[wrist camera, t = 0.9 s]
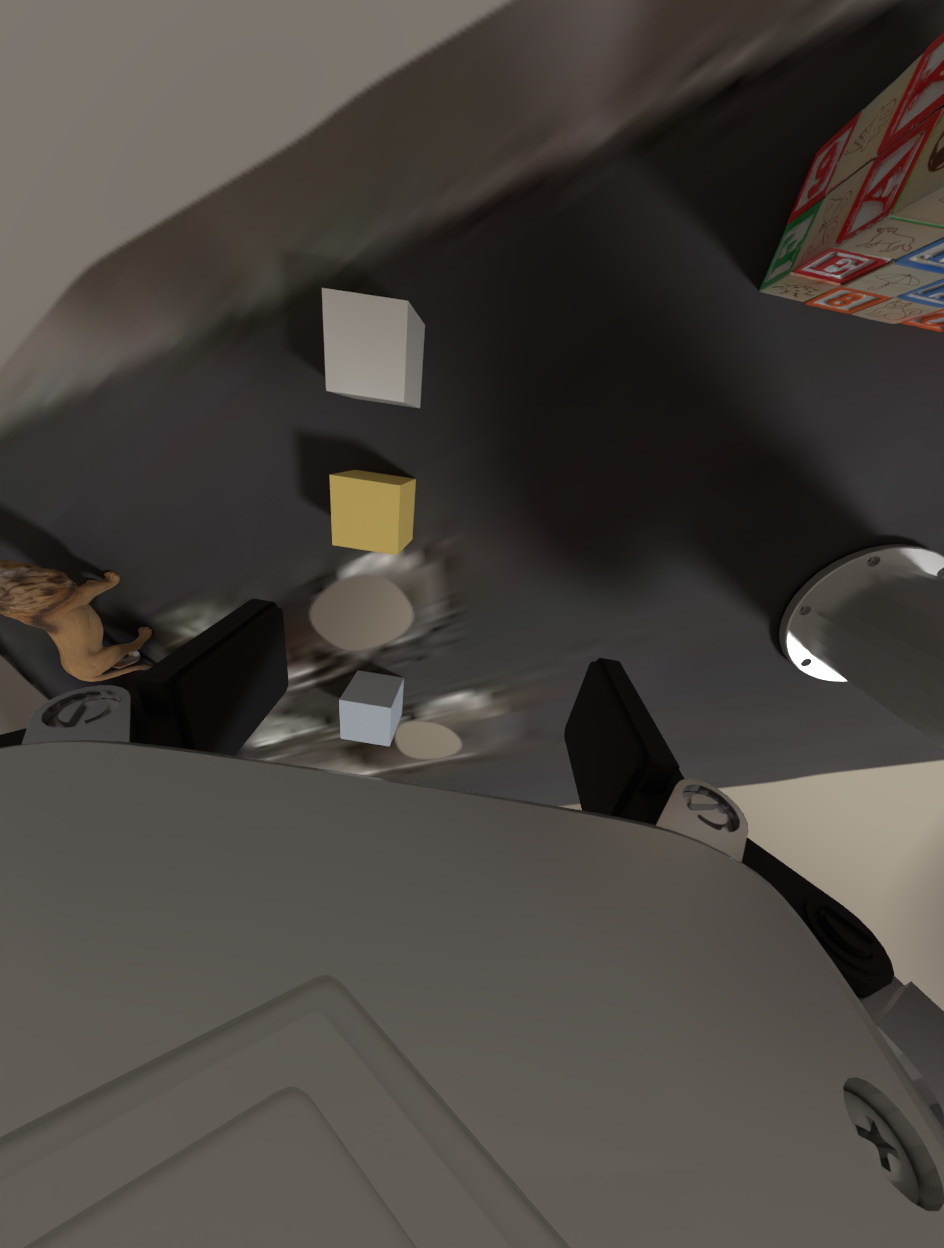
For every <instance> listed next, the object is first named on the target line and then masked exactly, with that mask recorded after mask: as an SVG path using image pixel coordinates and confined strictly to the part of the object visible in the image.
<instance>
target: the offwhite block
mask: <svg viewBox="0 0 944 1248" xmlns="http://www.w3.org/2000/svg"><path fill="white" fill-rule="evenodd" d="M322 306H323V329H324V353H325V377H326V391H329V392H333V393H337V394H340V395H344V396H348V397H351V398H355V399H362V400H368V401H375V402H381V403H388V404H394V405H401V406H407V407H414V408H420V400H421V383H422V367H423V350H424V333H425V324H424V323H423V321H422V320H421V318H420V317H419V316H418V314H417V313H416V311H415V310H414V308H413V307H412V306H411V304H410V303H409V301H406V300H399V299H393V298H386V297H379V296H373V295H366V294H360V293H353V292H346V291H340V290H333V289H326V288H322Z"/></svg>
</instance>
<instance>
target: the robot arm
mask: <svg viewBox="0 0 944 1248" xmlns="http://www.w3.org/2000/svg"><path fill="white" fill-rule="evenodd" d="M779 639H780V645H781V648H782V651H783V653H784V655H785V656H786V658H787V659H788V660H789V661H790V662H791V663H792V664H793V665H794V666H796V667H797V668H798V669H799V670H801V671H802V672H804V673H806V674H807V675H809V676H812V677H815V678H818V679H822V680H828V681H849V682H850V683H851V684H853V685H854V686H856V687H857V688H858V689H860V690H861V691H863V692H864V693H866V694H867V695H868V696H870V697H871V698H873V699H874V700H876V701H877V702H878V703H880V704H881V705H883V706H884V707H886V708H887V709H888V710H890V711H891V712H893V713H894V714H895V715H897V716H898V717H900V718H901V719H903V720H904V721H905V722H907V723H908V724H910V725H911V726H913V727H914V728H915V729H917V730H918V731H920V732H921V733H923V734H924V735H925V736H927V737H928V738H930V739H931V740H932V741H934V742H935V743H937V744H938V745H940V746H941V747H942V748H944V556H943V555H941V554H939V553H937V552H936V551H932V550H929V549H925V548H922V547H918V546H912V545H905V544H891V545H882V546H876V547H871V548H867V549H864V550H861V551H858V552H855V553H852V554H850V555H848V556H846V557H843V558H841V559H839V560H837V561H835V562H833V563H832V564H830V565H829V566H827V567H826V568H824V569H823V570H821V571H820V572H818V573H817V574H816V575H815V576H814V577H812V578H811V579H810V580H809V581H808V582H806V583H805V584H804V586H803V587H802V588H801V589H800V590H799V591H798V592H797V593H796V595H795V596H794V597H793V599H792V600H791V602H790V603H789V605H788V606H787V608H786V610H785V613H784V615H783V618H782V620H781V625H780V630H779ZM134 680H135V683H136V687H135V688H133V689H132V690H130V691H129V692H128V691H126V690H125V689H123V688H120V687H116V686H94V687H86V688H82V689H78V690H74V691H71V692H68V693H65V694H63V695H60V696H57V697H55V698H54V699H52V700H50V701H48V702H46V703H44V704H43V705H42V706H41V707H39V708H38V709H37V710H36V711H35V712H34V713H33V715H32V716H31V718H30V720H29V723H28V726H27V728H26V729H22V730H18V731H14V732H10V733H6V734H2V735H0V1248H944V1011H942V1010H941V1009H940V1008H939V1007H938V1006H937V1005H936V1004H935V1003H934V1002H933V1001H931V999H930V998H928V997H927V996H926V995H925V994H924V993H923V992H922V991H921V990H920V989H919V988H918V987H917V986H915V985H914V984H913V983H912V982H909V983H908V984H906V985H903V984H902V983H901V982H900V981H899V980H898V979H897V978H896V977H895V976H894V971H893V967H892V963H891V960H890V959H889V957H888V955H887V953H886V951H885V949H884V947H883V946H882V945H881V943H880V942H879V941H878V939H877V938H876V937H875V936H874V934H873V933H872V932H871V931H870V930H869V929H868V928H867V927H866V926H865V925H864V924H863V923H862V922H861V921H860V920H859V918H857V917H856V916H855V915H854V914H852V913H851V912H850V911H849V910H848V909H846V908H845V907H844V906H843V905H841V904H840V903H838V902H837V901H836V900H834V899H833V898H831V897H830V896H828V895H827V894H826V893H824V892H823V891H821V890H820V889H819V888H817V887H816V886H814V885H813V884H811V883H810V882H809V881H807V880H806V879H805V878H803V877H802V876H800V875H799V874H798V873H796V872H795V871H793V870H792V869H791V868H789V867H788V866H786V865H785V864H784V863H782V862H781V861H779V860H778V859H777V858H775V857H774V856H772V855H771V854H769V853H768V852H766V851H765V850H764V849H763V848H761V847H760V846H758V845H757V844H756V843H754V842H753V841H751V840H750V839H749V838H747V834H748V823H747V821H746V818H745V816H744V814H743V813H742V811H741V810H740V809H739V807H738V806H737V805H736V804H735V803H734V802H733V801H732V800H731V799H730V798H729V797H728V796H727V795H726V794H724V793H723V792H721V791H720V790H719V789H717V788H715V787H713V786H711V785H710V784H708V783H705V782H702V781H699V780H696V779H684V777H683V776H682V774H681V772H680V770H679V765H678V763H677V761H676V760H675V758H674V756H673V754H672V753H671V751H670V749H669V747H668V746H667V744H666V742H665V740H664V739H663V737H662V735H661V733H660V732H659V730H658V728H657V726H656V725H655V723H654V721H653V719H652V718H651V716H650V714H649V712H648V711H647V709H646V707H645V705H644V704H643V702H642V700H641V698H640V697H639V695H638V693H637V691H636V690H635V688H634V686H633V684H632V683H631V681H630V679H629V677H628V676H627V674H626V672H625V670H624V669H623V667H622V665H621V663H620V662H619V661H615V660H609V659H603V658H599V659H598V660H597V661H596V662H591V663H590V665H589V667H588V670H587V672H586V675H585V678H584V680H583V683H582V685H581V688H580V691H579V693H578V696H577V698H576V701H575V704H574V706H573V709H572V711H571V714H570V717H569V719H568V722H567V724H566V727H565V734H564V735H565V742H566V746H567V750H568V754H569V758H570V762H571V766H572V771H573V775H574V779H575V783H576V787H577V791H578V795H579V799H580V803H581V808H582V811H581V810H575V809H569V808H564V807H558V806H552V805H546V804H540V803H534V802H528V801H521V800H515V799H509V798H503V797H497V796H491V795H484V794H478V793H472V792H466V791H460V790H453V789H447V788H441V787H434V786H428V785H422V784H415V783H409V782H402V781H396V780H390V779H383V778H377V777H370V776H364V775H357V774H351V773H344V772H338V771H331V770H325V769H318V768H311V767H305V766H298V765H291V764H285V763H278V762H271V761H265V760H258V759H251V758H245V757H238V756H235V754H236V753H237V752H238V751H239V749H240V748H241V747H242V746H243V744H244V743H245V742H246V741H247V739H248V738H249V737H250V736H251V734H252V733H253V732H254V731H255V730H256V728H257V727H258V726H259V725H260V723H261V722H262V721H263V720H264V718H265V717H266V716H267V715H268V713H269V712H270V711H271V710H272V708H273V707H274V706H275V705H276V703H277V702H278V701H279V700H280V698H281V697H282V696H283V695H284V693H285V692H286V690H287V687H288V671H287V658H286V646H285V634H284V621H283V612H282V609H281V608H278V607H277V605H276V603H275V602H271V601H265V600H259V599H251V600H250V601H248V602H247V603H245V604H244V605H242V606H241V607H239V608H238V609H236V610H235V611H233V612H232V613H230V614H229V615H227V616H226V617H224V618H223V619H222V620H220V621H219V622H217V623H216V624H214V625H213V626H211V627H210V628H208V629H207V630H205V631H204V632H202V633H201V634H199V635H198V636H196V637H195V638H194V639H192V640H191V641H189V642H188V643H186V644H185V645H183V646H182V647H180V648H179V649H177V650H176V651H174V652H173V653H171V654H170V655H168V656H167V657H166V658H164V659H163V660H161V661H160V662H158V663H157V664H155V665H154V666H152V667H151V668H149V669H148V670H146V671H145V672H143V673H142V674H140V675H139V676H137V677H136V678H135V679H134Z"/></svg>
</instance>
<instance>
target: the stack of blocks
mask: <svg viewBox="0 0 944 1248" xmlns="http://www.w3.org/2000/svg"><path fill="white" fill-rule="evenodd" d="M759 291H760V292H762V293H767V294H771V295H776V296H780V297H784V298H788V299H793V300H797V301H801V302H804V303H805V304H806V305H811V306H815V307H820V308H824V309H829V310H833V311H838V312H842V313H846V314H852V315H855V316H859V317H862V318H867V319H872V320H876V321H881V322H886V323H890V324H896V323H902V324H905V325H911V326H917V327H920V328H925V329H929V330H934V331H938V332H942V331H944V32H943V33H942V34H941V35H940V36H939V37H938V38H937V39H936V40H935V41H933V42H932V44H931V45H930V46H929V47H928V48H927V49H926V51H925V52H924V53H923V54H922V55H921V56H920V57H918V58H917V59H916V60H915V61H914V62H913V63H912V64H911V65H910V66H909V67H908V68H907V69H906V70H905V71H904V72H903V73H902V74H901V75H900V76H899V77H898V78H897V79H896V80H894V81H893V82H892V83H891V84H890V85H889V86H888V87H887V88H886V89H885V90H884V91H883V92H882V93H880V94H879V95H878V96H877V97H876V98H875V99H874V100H873V101H872V102H871V103H870V104H869V105H868V106H867V107H866V108H865V109H863V110H862V111H861V112H860V113H858V114H857V115H856V116H855V117H854V118H853V119H851V120H850V121H849V122H848V123H847V124H846V125H845V126H844V127H843V128H842V129H841V130H840V131H839V132H838V133H837V134H836V135H835V136H833V137H832V138H831V139H830V140H829V141H828V142H827V143H826V144H825V145H824V146H823V147H821V148H820V150H819V151H818V152H817V154H816V156H815V158H814V161H813V163H812V165H811V168H810V170H809V173H808V175H807V177H806V180H805V182H804V184H803V187H802V189H801V191H800V194H799V196H798V198H797V201H796V203H795V206H794V208H793V210H792V213H791V215H790V217H789V220H788V222H787V227H786V229H785V231H784V234H783V236H782V238H781V241H780V243H779V245H778V248H777V250H776V252H775V255H774V257H773V259H772V261H771V264H770V266H769V268H768V271H767V273H766V276H765V278H764V280H763V282H762V285H761V287H760V289H759Z"/></svg>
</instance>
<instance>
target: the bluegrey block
mask: <svg viewBox="0 0 944 1248" xmlns="http://www.w3.org/2000/svg"><path fill="white" fill-rule="evenodd" d="M403 685H404V678H402V677H396V676H390V675H383V674H377V673H371V672H364V671H357V672H356V674H355V676H354V677H353V679H352V680H351V682H350V683H349V685H348V687H347V688H346V690H345V691H344V693H343V694H342V696H341V698H340V699H339V709H340V732H341V739H347V740H354V741H360V742H366V743H372V744H378V745H384V746H390V744H391V741H392V738H393V736H394V733H395V730H396V728H397V725H398V722H399V720H400V717H401V714H402V701H403Z"/></svg>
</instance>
